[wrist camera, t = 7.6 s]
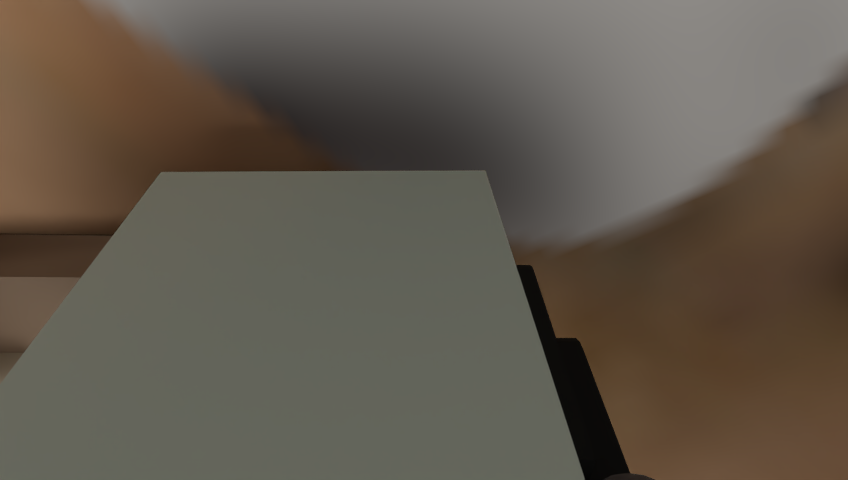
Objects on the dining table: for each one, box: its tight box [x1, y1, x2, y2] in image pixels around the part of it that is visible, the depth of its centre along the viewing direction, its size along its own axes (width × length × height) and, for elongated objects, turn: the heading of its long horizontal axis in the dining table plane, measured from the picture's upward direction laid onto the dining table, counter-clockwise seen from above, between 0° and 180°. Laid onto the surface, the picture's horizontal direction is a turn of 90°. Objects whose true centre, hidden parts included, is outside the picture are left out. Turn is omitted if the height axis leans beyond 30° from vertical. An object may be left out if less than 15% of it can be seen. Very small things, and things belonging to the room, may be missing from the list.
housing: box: [0, 170, 585, 480], centre depth 8 cm, size 5×5×6 cm
